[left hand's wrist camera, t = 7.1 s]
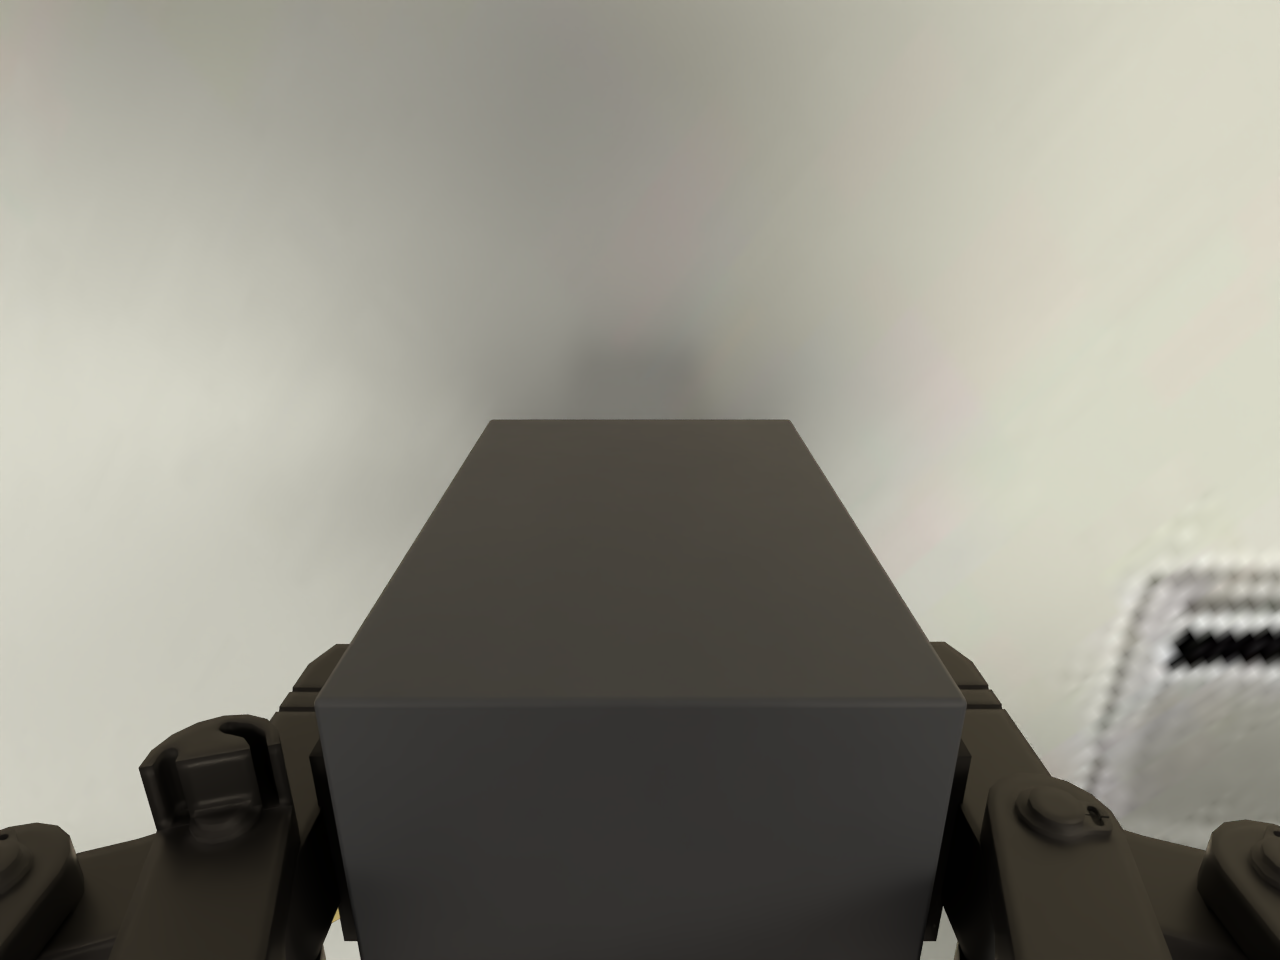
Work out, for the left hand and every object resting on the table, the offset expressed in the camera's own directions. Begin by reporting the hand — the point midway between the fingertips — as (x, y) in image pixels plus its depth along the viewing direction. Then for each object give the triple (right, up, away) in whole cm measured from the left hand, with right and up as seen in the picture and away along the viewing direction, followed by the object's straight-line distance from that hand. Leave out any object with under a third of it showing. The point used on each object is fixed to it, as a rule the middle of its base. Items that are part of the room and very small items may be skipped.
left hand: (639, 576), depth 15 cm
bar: (0, -13, +5) cm, 14 cm away
